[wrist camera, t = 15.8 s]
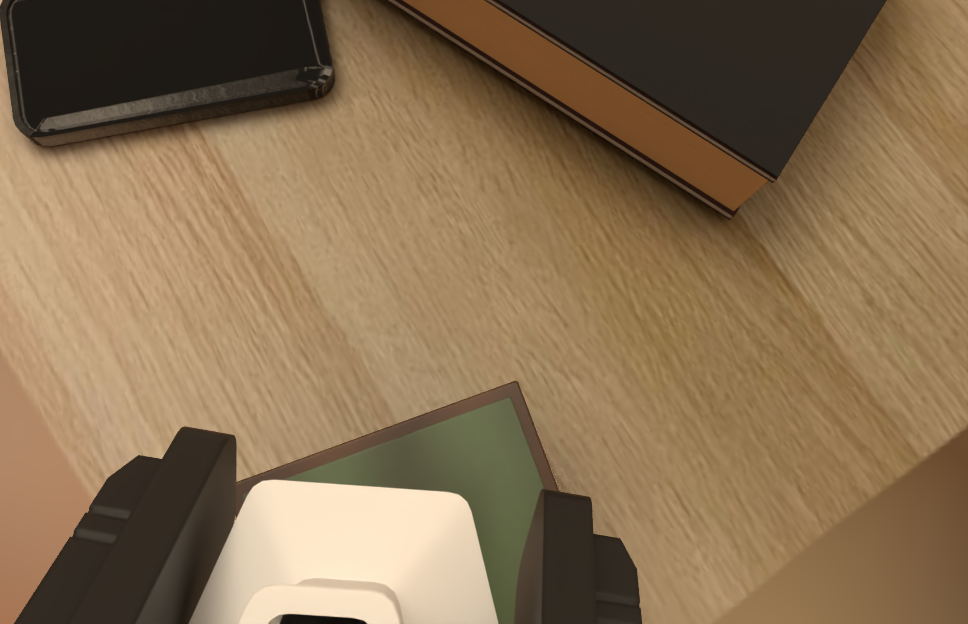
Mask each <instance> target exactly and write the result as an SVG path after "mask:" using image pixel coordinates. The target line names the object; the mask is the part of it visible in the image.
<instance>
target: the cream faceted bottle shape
mask: <svg viewBox="0 0 968 624" xmlns="http://www.w3.org/2000/svg"><path fill="white" fill-rule="evenodd" d="M189 624H498V620H497V616H496V611H495V607H494V603H493V599H492V595H491V591H490V586H489V582H488V578H487V574H486V570H485V566H484V561H483V557H482V553H481V549H480V545H479V541H478V536H477V532H476V528H475V524H474V520H473V516H472V512H471V509H470V507H469V505H468V503H467V501H466V500H465V499H464V498H462V497H461V496H460V495H458V494H454V493H450V492H441V491H427V490H413V489H399V488H385V487H370V486H356V485H342V484H328V483H314V482H300V481H286V480H267V481H262V482H260V483H258V484H257V485H255V486H253V488H252V489H251V491H250V492H249V494H248V495H247V497H246V499H245V501H244V503H243V506H242V508H241V510H240V512H239V514H238V516H237V519H236V521H235V523H234V525H233V527H232V530H231V532H230V534H229V536H228V538H227V541H226V543H225V545H224V547H223V549H222V552H221V554H220V556H219V558H218V560H217V563H216V565H215V567H214V569H213V571H212V573H211V576H210V578H209V580H208V582H207V584H206V587H205V589H204V591H203V593H202V595H201V598H200V600H199V602H198V604H197V606H196V609H195V611H194V613H193V615H192V617H191V619H190V622H189Z"/></svg>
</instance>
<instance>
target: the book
mask: <svg viewBox="0 0 968 624" xmlns="http://www.w3.org/2000/svg"><path fill="white" fill-rule="evenodd" d="M386 1H388V2H390V3H391V4H393V5H394V6H396V7H397V8H399V9H400V10H402V11H404V12H405V13H407V14H408V15H410V16H411V17H413V18H415V19H416V20H418V21H419V22H421V23H422V24H424V25H426V26H427V27H429V28H430V29H432V30H433V31H435V32H436V33H438V34H440V35H441V36H443V37H444V38H446V39H447V40H449V41H451V42H452V43H454V44H455V45H457V46H458V47H460V48H462V49H463V50H465V51H466V52H468V53H469V54H471V55H472V56H474V57H476V58H477V59H479V60H480V61H482V62H483V63H485V64H487V65H488V66H490V67H491V68H493V69H494V70H496V71H497V72H499V73H501V74H502V75H504V76H505V77H507V78H508V79H510V80H512V81H513V82H515V83H516V84H518V85H519V86H521V87H523V88H524V89H526V90H527V91H529V92H530V93H532V94H533V95H535V96H537V97H538V98H540V99H541V100H543V101H544V102H546V103H548V104H549V105H551V106H552V107H554V108H555V109H557V110H559V111H560V112H562V113H563V114H565V115H566V116H568V117H569V118H571V119H573V120H574V121H576V122H577V123H579V124H580V125H582V126H584V127H585V128H587V129H588V130H590V131H591V132H593V133H594V134H596V135H598V136H599V137H601V138H602V139H604V140H605V141H607V142H609V143H610V144H612V145H613V146H615V147H616V148H618V149H620V150H621V151H623V152H624V153H626V154H627V155H629V156H630V157H632V158H634V159H635V160H637V161H638V162H640V163H641V164H643V165H645V166H646V167H648V168H649V169H651V170H652V171H654V172H656V173H657V174H659V175H660V176H662V177H663V178H665V179H666V180H668V181H670V182H671V183H673V184H674V185H676V186H677V187H679V188H681V189H682V190H684V191H685V192H687V193H688V194H690V195H692V196H693V197H695V198H696V199H698V200H699V201H701V202H702V203H704V204H706V205H707V206H709V207H710V208H712V209H713V210H715V211H717V212H718V213H720V214H721V215H723V216H724V217H726V218H727V219H729V220H730V219H731V218H732V216H733V217H734V215H735V214H736V212H737V210H738V209H739V207H740V206H741V204H743V203H744V202H745V201H746V200H747V199H748V198H749V197H751V196H752V195H753V194H754V193H755V192H756V191H757V190H759V189H760V188H761V187H762V186H763V185H764V184H765V183H767V182H768V181H770V182H772V183H773V182H774V180H777V178H778V176H779V175H780V173H781V172H782V170H783V168H784V167H785V165H786V163H787V162H788V160H789V158H790V157H791V155H792V154H793V152H794V150H795V149H796V147H797V145H798V144H799V142H800V141H801V139H802V137H803V136H804V134H805V132H806V131H807V129H808V128H809V126H810V124H811V123H812V121H813V119H814V118H815V116H816V114H817V113H818V111H819V110H820V108H821V106H822V105H823V103H824V101H825V100H826V98H827V97H828V95H829V93H830V92H831V90H832V88H833V87H834V85H835V84H836V82H837V80H838V79H839V77H840V75H841V74H842V72H843V70H844V69H845V67H846V66H847V64H848V62H849V61H850V59H851V57H852V56H853V54H854V53H855V51H856V49H857V48H858V46H859V44H860V43H861V41H862V40H863V38H864V36H865V35H866V33H867V31H868V30H869V28H870V26H871V25H872V23H873V22H874V20H875V18H876V17H877V15H878V13H879V12H880V10H881V9H882V7H883V5H884V4H885V2H886V0H386Z"/></svg>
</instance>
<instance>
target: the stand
mask: <svg viewBox="0 0 968 624" xmlns="http://www.w3.org/2000/svg"><path fill="white" fill-rule="evenodd" d="M267 480H286V481H300V482H314V483H328V484H342V485H356V486H370V487H385V488H399V489H413V490H427V491H441V492H450V493H454V494H458V495H460V496H461V497H462V498H464V499H465V500H466V501H467V503H468V505H469V507H470V509H471V512H472V516H473V520H474V524H475V528H476V532H477V536H478V541H479V545H480V549H481V553H482V557H483V561H484V566H485V570H486V574H487V578H488V582H489V586H490V591H491V595H492V599H493V603H494V607H495V611H496V616H497V620H498V624H514V617H515V599H516V587H517V580H518V573H519V567H520V562H521V558H522V554H523V550H524V547H525V543H526V539H527V536H528V532H529V529H530V525H531V522H532V518H533V515H534V511H535V508H536V504H537V501H538V497H539V494H540V491H541V490H542V489H547V490H553V491H559V490H558V487H557V485H556V482H555V479H554V477H553V474H552V471H551V469H550V466H549V463H548V461H547V458H546V455H545V453H544V450H543V447H542V445H541V442H540V439H539V437H538V434H537V431H536V429H535V426H534V423H533V421H532V418H531V415H530V413H529V410H528V407H527V405H526V402H525V399H524V397H523V394H522V391H521V389H520V386H519V383H518V382H517V381H513V382H511V383H508V384H505V385H502V386H500V387H497V388H494V389H491V390H489V391H486V392H483V393H480V394H478V395H475V396H472V397H469V398H467V399H464V400H461V401H458V402H456V403H453V404H450V405H447V406H445V407H442V408H439V409H436V410H434V411H431V412H428V413H425V414H423V415H420V416H417V417H414V418H412V419H409V420H406V421H403V422H401V423H398V424H395V425H392V426H390V427H387V428H384V429H381V430H379V431H376V432H373V433H370V434H368V435H365V436H362V437H359V438H357V439H354V440H351V441H348V442H346V443H343V444H340V445H337V446H335V447H332V448H329V449H326V450H324V451H321V452H318V453H315V454H313V455H310V456H307V457H304V458H302V459H299V460H296V461H293V462H291V463H288V464H285V465H282V466H280V467H277V468H274V469H271V470H269V471H266V472H263V473H260V474H258V475H255V476H252V477H249V478H247V479H244V480H241V481H238V482H236V513H235V516H236V519H237V516H238V514H239V512H240V510H241V508H242V506H243V503H244V501H245V499H246V497H247V495H248V494H249V492H250V491H251V489H252V488H253V486H255V485H257V484H258V483H260V482H262V481H267Z"/></svg>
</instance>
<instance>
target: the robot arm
mask: <svg viewBox="0 0 968 624" xmlns="http://www.w3.org/2000/svg"><path fill="white" fill-rule="evenodd" d="M235 513H236V438H235V436H234V435H231V434H225V433H219V432H214V431H208V430H202V429H197V428H191V427H182V428H181V429H180V430H179V431H178V433H177V434H176V436H175V438H174V439H173V441H172V443H171V445H170V446H169V448H168V450H167V451H166V453H165V455H164V457H163V458H162V459H158V458H152V457H147V456H141V455H138V456H137V457H135V458H134V459H133V460H131V461H130V462H129V463H127V464H126V465H125V466H123V467H122V468H121V469H119V470H118V471H117V472H115V473H114V474H113V475H111V476H110V477H109V478H108V479H107V480H106V482H105V483H104V485H103V487H102V488H101V490H100V491H99V493H98V494H97V496H96V497H95V499H94V500H93V502H92V504H91V505H90V507H89V512H88V513H85V514H84V516H83V518H82V519H81V521H80V522H79V524H78V526H77V527H76V528H75V530H74V534H73V537H70V538H69V539H68V541H67V542H66V544H65V545H64V547H63V549H62V550H61V552H60V553H59V555H58V556H57V558H56V560H55V561H54V563H53V564H52V566H51V567H50V569H49V570H48V572H47V573H46V575H45V576H44V578H43V580H42V581H41V583H40V584H39V586H38V587H37V589H36V591H35V592H34V594H33V595H32V597H31V598H30V600H29V601H28V603H27V605H26V606H25V607H24V609H23V611H22V612H21V614H20V615H19V617H18V618H17V620H16V621H15V623H14V624H189V622H190V619H191V617H192V615H193V613H194V611H195V609H196V606H197V604H198V602H199V600H200V598H201V595H202V593H203V591H204V589H205V587H206V584H207V582H208V580H209V578H210V576H211V573H212V571H213V569H214V567H215V565H216V563H217V560H218V558H219V556H220V554H221V552H222V549H223V547H224V545H225V543H226V541H227V538H228V536H229V534H230V532H231V530H232V527H233V524H234V519H235ZM639 603H640V597H639V587H638V576H637V569H636V567H635V565H634V563H633V561H632V559H631V558H630V556H629V554H628V552H627V550H626V548H625V546H624V545H623V543H622V541H621V539H620V538H614V537H608V536H603V535H597V534H593V518H592V502H591V498H590V497H587V496H581V495H576V494H570V493H564V492H559V491H553V490H547V489H542V490H541V491H540V494H539V497H538V501H537V504H536V508H535V511H534V515H533V518H532V522H531V525H530V529H529V532H528V536H527V539H526V543H525V547H524V550H523V554H522V558H521V562H520V567H519V573H518V580H517V587H516V599H515V617H514V624H642V618H641V608H640V607H639Z"/></svg>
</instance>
